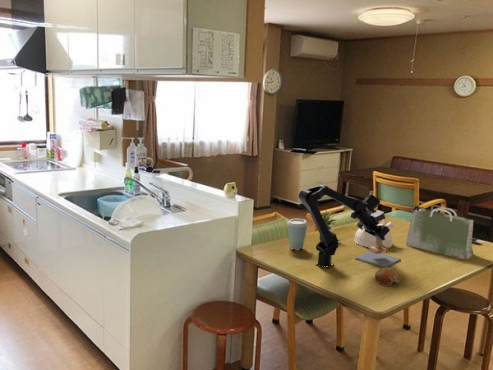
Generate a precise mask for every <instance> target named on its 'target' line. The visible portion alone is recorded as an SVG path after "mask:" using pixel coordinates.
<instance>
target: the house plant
mask: <svg viewBox="0 0 493 370" xmlns="http://www.w3.org/2000/svg"><path fill="white" fill-rule="evenodd" d="M327 211H328V210H327V209H326V210H325V213H324V212H323V211H322V212H321V211H320V213H321V215H322V217H323V219H324V221H325V223H326V225H327V227H328V229H329V231H331V232H332V227H331V225H333V226H336V225H338V223H337V222H335V221H337V219H333V218H334V217H336V214H334V215H332V213H333V211H329V213H328V214H327ZM331 215H332V216H331ZM318 233H319V232H318ZM319 235H320V233H319Z"/></svg>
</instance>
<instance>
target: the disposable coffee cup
mask: <svg viewBox="0 0 493 370" xmlns="http://www.w3.org/2000/svg"><path fill="white" fill-rule="evenodd" d="M307 222H308V221H307V219H304V218H298V217H297V218H291V219H289V220H288V221H287V223H286V225H287V234H288V241H289V248H290V247H291V248H293V249H301V248H302V249H303V248H304V244H305V238H306V235H307V234H306V233H307V228H308V225H309V224H308V223H307ZM291 248H290V249H291ZM293 249H292V250H293Z"/></svg>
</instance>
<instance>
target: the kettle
mask: <svg viewBox="0 0 493 370" xmlns="http://www.w3.org/2000/svg"><path fill="white" fill-rule="evenodd" d="M367 212H368V213H369V214H370V212H371V211H367ZM370 215H371V214H370ZM355 220H358V218H356V219H355ZM386 222H387V219H386V218H385V219H383V220H382V223H379V224H378V225H384V226H387V227H388V228H389V229H390V230H391V229H392V228H393V227H395V226H394V224H393V222H391V221H389V222H388V223H387V224H386ZM378 225H377V226H378ZM363 227H364V226H363ZM363 227H362V228H363ZM384 237H385V240H384V241H383V244H384V245H386V246H388V249H390V248H391V247H392V246H393V237H392V234H391V232H390V231H389V232H388V233H387V234H386V235H385V236H384ZM354 241H355V242H354ZM354 241H353V242H354V243H355V244H356V243H357V245H358V244H359V245H358V246H360V245H361V247H363V246H365V247H364V248H367V247H368V248H367V249H369V248H370V247H373V246H375V245H376V237H375V236H373V235H371V234H369V233H367V232H365V229H364V228H363V230H361V229H359V228H358V229H357V230H356V232H355V236H354Z"/></svg>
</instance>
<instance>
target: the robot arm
mask: <svg viewBox="0 0 493 370" xmlns="http://www.w3.org/2000/svg"><path fill="white" fill-rule="evenodd" d="M324 196H327V197H329V198H331V199H332V200H335V201H337V202H339V203H340V204H341V205H342V206H344V207H345V208H347V209H348V210H350V211H353V212H351V214H350V218H351V219H354V220H358V221H359V222H358V223H357V226H356V227H357V228H358V229H361V230H363V228H364V229H365V232H367V233H369V234H371V235H373V236H375V237H377V238H379V239H381V240H383V241H384V240H385V237H384V236H385V235H386V234H387V233H388V232H390V231H391V229H389V228H388V227H387V226H384V225H381V226H380V225H379V226H377V225H378V224H380V222H381V221H383V219H386V216H385V212H384V211H382V210H378V209H377V210H376V208H377V207H378V206H379V205H380V204H381V200H380V199H379V198H378V197H376V196H375V195H374V194H373V193H368V195H367V196H366V197H365V198H364V199H363V200H360V199H357V198H355V197H352V196H348V195H345V194H342V193H340V192H339V191H336V190H334V189H332V188H331V187H329V186H328V185H325V184H319V185H316V186H313V187H309V188H307V189H304V188H303V189H301V190H300V191H299V193H298V200H300V202H301V203H302V205H303V206H304V207H305V208H306V209H307V211H308V213H309V215H310V216H311V218H312V221H313V223H314V224H315V226H316V227H315V228H316V229H317V231H318V233H320V234H319V242H318V243H317V244H315V249H316V251H318V256H317V258H318V259H317V263H318V265H320V266H319V267H321V266H325V267H326V266H328V268H330V267H329V266H331V263H332V256H335V254H336V252H337V249H338V248H339V242H340V239H338V237H337V233H335V232H333V231H332V230H331V231H329V229H328V227H327V225H326V223H325V221H324V219H323V216H322V215H323V214H321V213H322V212H321V211H320V209H319V208H320V207H319V206H318V204H319V201H318V200H321V199H322V198H323V197H324ZM320 212H321V213H320ZM368 212H370V214H371V215H370V214H369V213H368ZM356 218H358V219H356ZM363 226H364V227H363ZM362 227H363V228H362ZM332 264H333V266H334V263H332ZM318 265H317V266H318ZM331 267H332V266H331Z"/></svg>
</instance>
